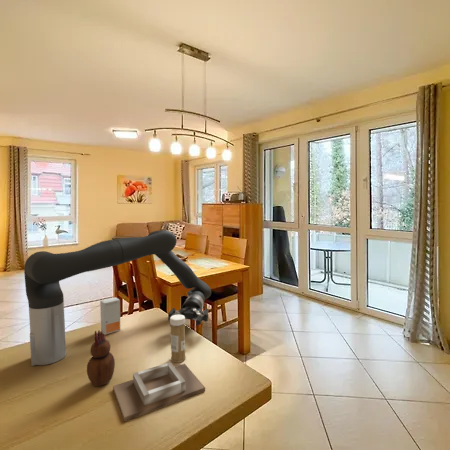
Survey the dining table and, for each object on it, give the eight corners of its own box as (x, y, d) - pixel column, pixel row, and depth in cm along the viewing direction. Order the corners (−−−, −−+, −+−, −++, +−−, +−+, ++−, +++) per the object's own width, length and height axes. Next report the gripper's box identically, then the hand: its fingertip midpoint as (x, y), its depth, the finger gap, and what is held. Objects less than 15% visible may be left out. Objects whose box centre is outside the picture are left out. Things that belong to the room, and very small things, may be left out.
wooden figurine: (97, 392, 74) (94, 335, 73) (83, 385, 78) (81, 330, 76) (119, 379, 80) (117, 325, 79) (106, 372, 83) (104, 321, 82)
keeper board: (124, 421, 65) (124, 406, 64) (113, 389, 76) (112, 376, 75) (205, 391, 75) (204, 377, 75) (184, 366, 86) (184, 355, 86)
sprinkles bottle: (188, 360, 90) (187, 317, 89) (174, 364, 87) (173, 320, 86) (181, 353, 93) (181, 312, 92) (168, 358, 91) (167, 315, 90)
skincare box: (104, 335, 107) (103, 303, 106) (100, 331, 110) (99, 300, 109) (121, 330, 111) (120, 299, 110) (116, 326, 114) (115, 296, 113)
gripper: (175, 296, 117) (164, 311, 100) (210, 297, 116) (205, 312, 100) (175, 315, 117) (164, 333, 101) (211, 315, 116) (205, 334, 100)
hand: (184, 322), depth 100 cm, fingers open, 8 cm apart
